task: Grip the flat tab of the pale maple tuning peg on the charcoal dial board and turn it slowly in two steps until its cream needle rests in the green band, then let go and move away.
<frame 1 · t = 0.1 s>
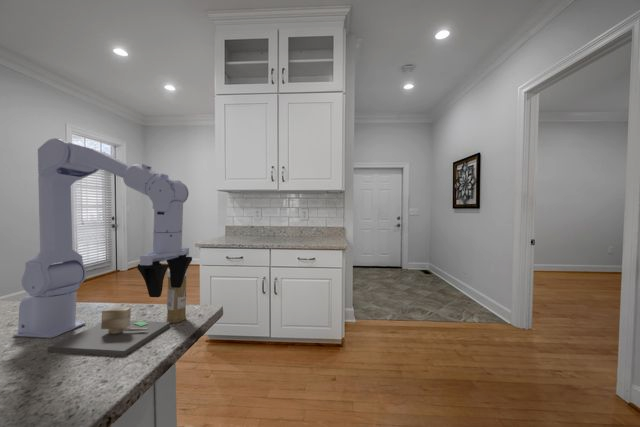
hand: (166, 291, 60), 10 cm above the countertop, tool pointing down, fingers open, 7 cm apart
sprinkles bottle: (176, 320, 69), on the countertop
dial board: (115, 337, 59), on the countertop
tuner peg: (125, 320, 59), point 4 cm above the countertop, hinge at 0.0°
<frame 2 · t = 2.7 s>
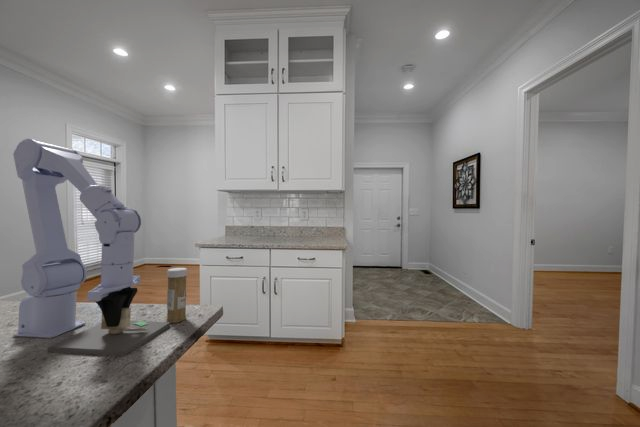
hand: (116, 324, 59), 3 cm above the countertop, tool pointing down, fingers closed on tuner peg, 2 cm apart
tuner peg: (125, 320, 59), point 4 cm above the countertop, hinge at 0.0°, touching gripper
everything else where it was.
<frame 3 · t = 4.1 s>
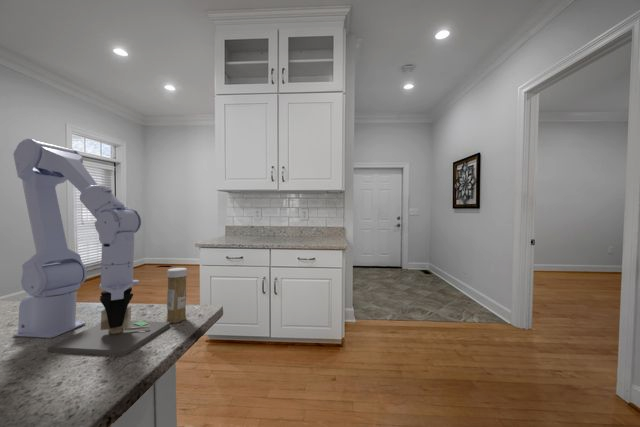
hand: (116, 324, 59), 3 cm above the countertop, tool pointing down, fingers closed on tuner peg, 3 cm apart
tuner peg: (126, 319, 59), point 4 cm above the countertop, hinge at 11.5°, touching gripper
everything else where it was.
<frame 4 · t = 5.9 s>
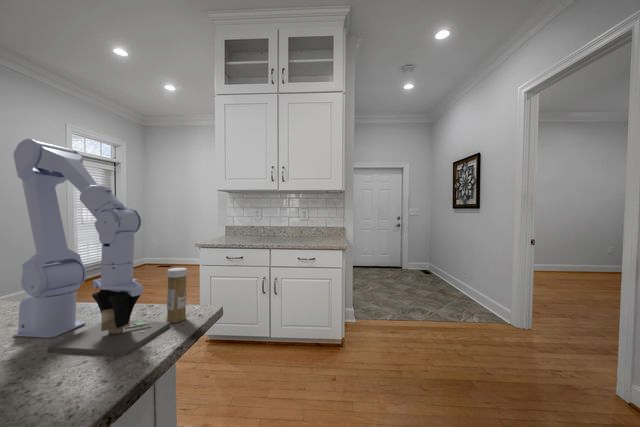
hand: (116, 324, 59), 3 cm above the countertop, tool pointing down, fingers closed on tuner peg, 4 cm apart
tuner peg: (127, 318, 60), point 4 cm above the countertop, hinge at 30.7°, touching gripper
everything else where it was.
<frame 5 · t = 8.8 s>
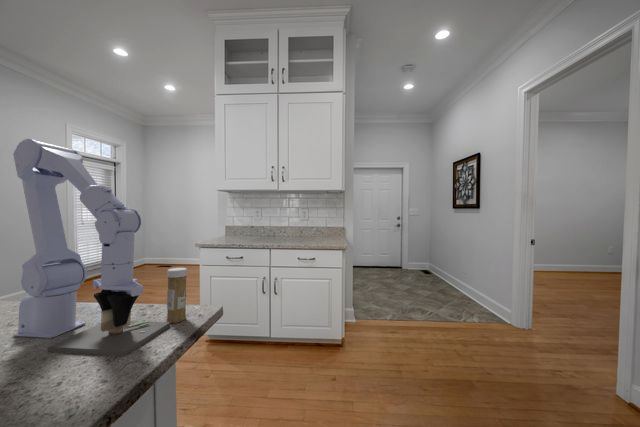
hand: (116, 324, 59), 3 cm above the countertop, tool pointing down, fingers closed on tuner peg, 3 cm apart
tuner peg: (127, 318, 60), point 4 cm above the countertop, hinge at 42.9°, touching gripper
everything else where it was.
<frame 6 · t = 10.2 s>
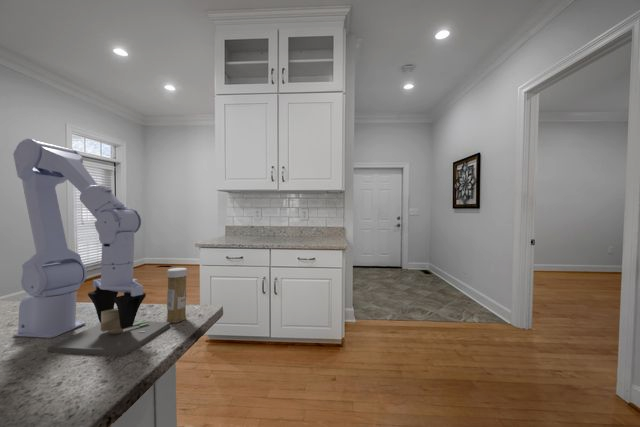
hand: (116, 324, 59), 3 cm above the countertop, tool pointing down, fingers open, 7 cm apart
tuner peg: (126, 317, 60), point 4 cm above the countertop, hinge at 45.0°
everything else where it was.
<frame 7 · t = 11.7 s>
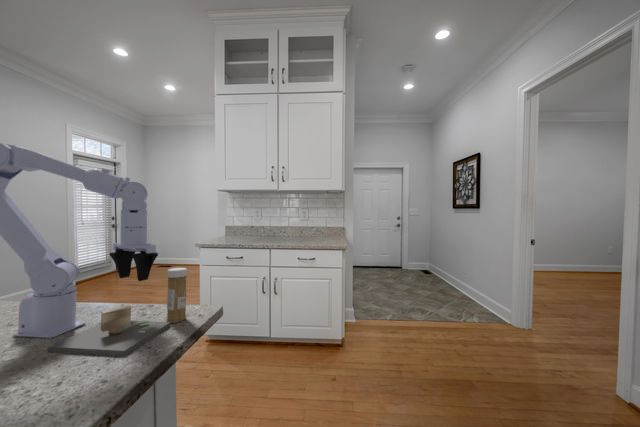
hand: (133, 278, 70), 10 cm above the countertop, tool pointing down, fingers open, 7 cm apart
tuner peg: (126, 317, 60), point 4 cm above the countertop, hinge at 46.0°
everything else where it was.
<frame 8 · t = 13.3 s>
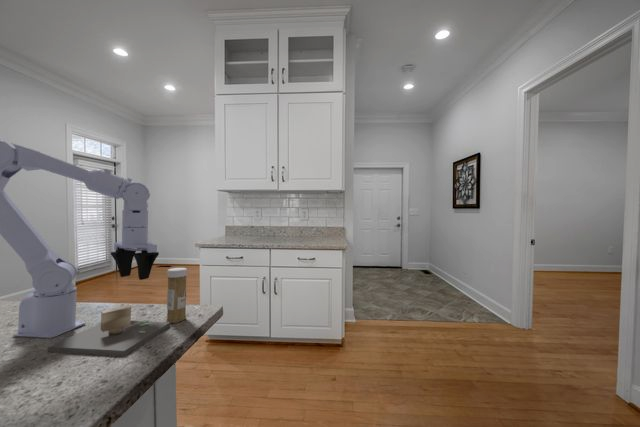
hand: (134, 277, 71), 10 cm above the countertop, tool pointing down, fingers open, 7 cm apart
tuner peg: (126, 317, 60), point 4 cm above the countertop, hinge at 46.4°
everything else where it was.
at the end: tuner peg at +46° (first picture: +0°); the gripper is holding nothing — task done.
